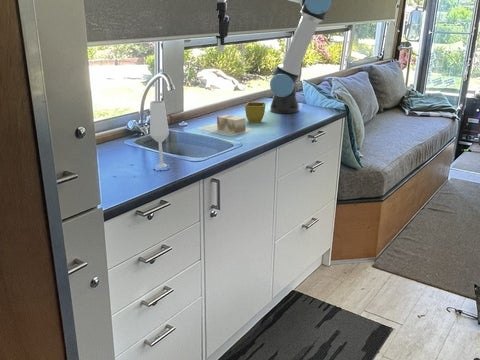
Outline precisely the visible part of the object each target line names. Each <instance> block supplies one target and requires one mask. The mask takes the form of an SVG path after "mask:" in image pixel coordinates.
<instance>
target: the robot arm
mask: <svg viewBox="0 0 480 360" xmlns="http://www.w3.org/2000/svg"><path fill="white" fill-rule="evenodd" d="M217 1H218V3H217V9H216V10H217V11H218V10H219V15H218V18H219V34H220V36H216V37H215V38H216V45H217V53H224V52H225V47H224V46H225V38H227V37H228V33H229V26H230V20H231V16H228V15H227V10H228V3H227V2H226V1H227V0H217ZM288 1H289V2H292V3H293V2H294V3H297V4H299V5H300V7H301V9H300V13H301V18H300V20H299V22H298V25H297V27H296V29H295V32H294V34H293V36H292V39H291V41H290V43H289V46H288V49H287V50H286V53H285V55H284V58H283V60H282V62H281V63H280V64H278V65H277V66H275V67H274V69H273V76H272V77H271V78H270V81H269V86H270V87H269V88H270V91H271V92H272V94H273V97H272V100H271V105H270V109H269V110H270V112H272V113H276V114H293V113H297V112H299V110H300V109H299V108H300V107H299V102H298V100H297V97H296V95H297V93H296V92H297V81H298V79H299V76H300V73H299V69H300V66H301V64H302V62H303V60H304V57H305V55H306V54H307V50H308V49H309V47H310V46H309V45H310V43H311V41H312V39H313V37H314V34H315V32H316V30H317V28H318V25H319V23H322V22H323V21H324V20H325V17H326V15H327V12H328V11H329V9H330V7H331V5H332V0H288Z"/></svg>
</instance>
